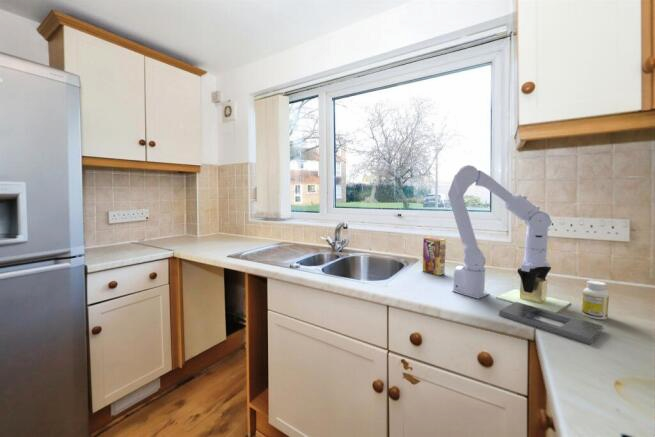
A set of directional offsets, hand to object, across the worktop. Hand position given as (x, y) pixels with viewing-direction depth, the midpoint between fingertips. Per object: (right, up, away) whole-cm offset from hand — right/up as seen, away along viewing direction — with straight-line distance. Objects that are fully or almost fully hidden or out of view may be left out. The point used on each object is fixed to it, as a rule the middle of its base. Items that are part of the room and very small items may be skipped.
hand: (533, 289), depth 95 cm
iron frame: (-7, -5, -16) cm, 18 cm away
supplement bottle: (+9, -5, -11) cm, 16 cm away
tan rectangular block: (0, -3, 0) cm, 3 cm away
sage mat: (0, -4, 0) cm, 4 cm away
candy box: (-20, -1, +34) cm, 39 cm away
